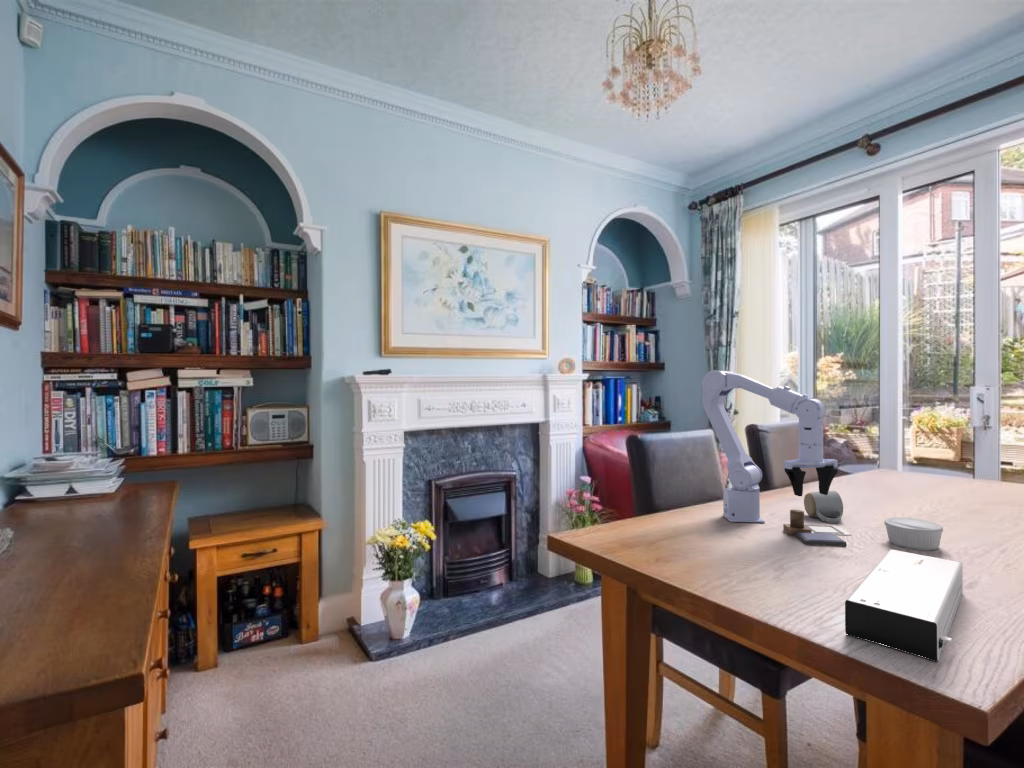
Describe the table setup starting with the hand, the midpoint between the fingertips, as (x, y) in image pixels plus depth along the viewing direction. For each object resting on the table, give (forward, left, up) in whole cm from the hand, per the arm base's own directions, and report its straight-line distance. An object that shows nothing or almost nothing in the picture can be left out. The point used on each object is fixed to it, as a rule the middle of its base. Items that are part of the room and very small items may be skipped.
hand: (810, 494), depth 136 cm
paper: (+3, +1, -10) cm, 10 cm away
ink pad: (-2, -9, -10) cm, 13 cm away
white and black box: (-3, -50, -10) cm, 51 cm away
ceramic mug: (+9, +13, -10) cm, 19 cm away
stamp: (-5, -3, -10) cm, 11 cm away
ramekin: (+19, -9, -10) cm, 24 cm away
